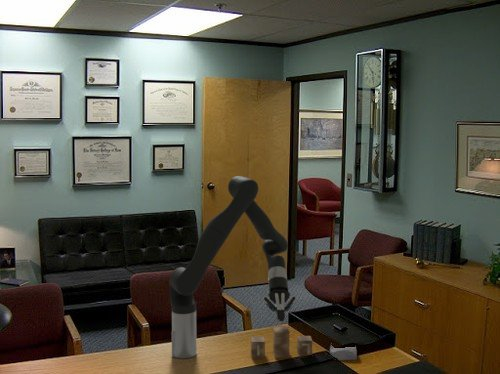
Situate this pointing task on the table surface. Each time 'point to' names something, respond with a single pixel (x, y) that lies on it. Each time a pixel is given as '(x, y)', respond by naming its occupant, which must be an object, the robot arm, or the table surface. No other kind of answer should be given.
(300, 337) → the block seven
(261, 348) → the block one
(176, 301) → the robot arm
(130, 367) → the table surface
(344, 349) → the stone block
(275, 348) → the plain pillar
